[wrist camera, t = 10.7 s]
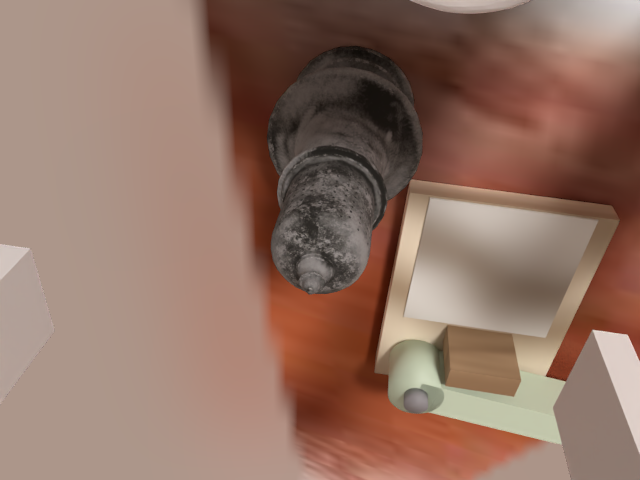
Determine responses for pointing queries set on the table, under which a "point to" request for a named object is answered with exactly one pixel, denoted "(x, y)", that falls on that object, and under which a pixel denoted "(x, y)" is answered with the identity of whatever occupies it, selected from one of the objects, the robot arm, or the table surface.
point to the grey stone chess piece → (339, 163)
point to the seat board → (490, 279)
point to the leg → (470, 395)
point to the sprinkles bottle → (470, 5)
